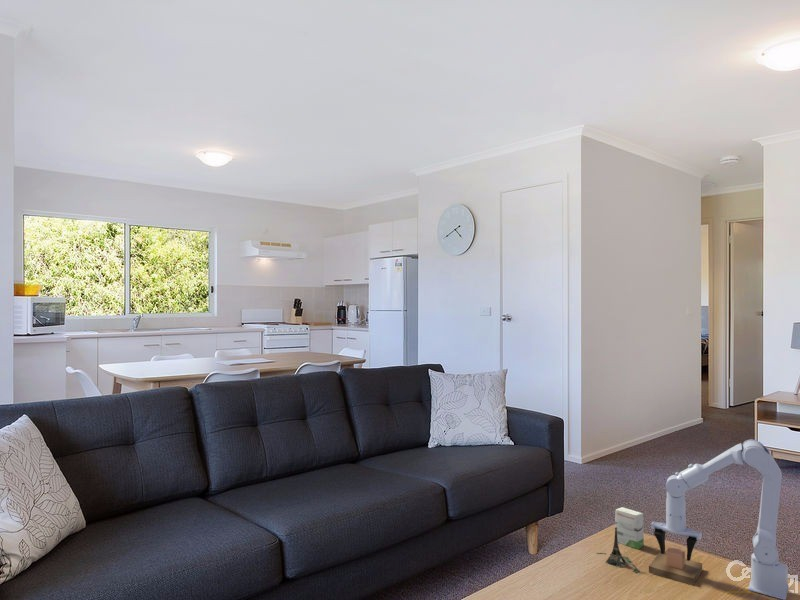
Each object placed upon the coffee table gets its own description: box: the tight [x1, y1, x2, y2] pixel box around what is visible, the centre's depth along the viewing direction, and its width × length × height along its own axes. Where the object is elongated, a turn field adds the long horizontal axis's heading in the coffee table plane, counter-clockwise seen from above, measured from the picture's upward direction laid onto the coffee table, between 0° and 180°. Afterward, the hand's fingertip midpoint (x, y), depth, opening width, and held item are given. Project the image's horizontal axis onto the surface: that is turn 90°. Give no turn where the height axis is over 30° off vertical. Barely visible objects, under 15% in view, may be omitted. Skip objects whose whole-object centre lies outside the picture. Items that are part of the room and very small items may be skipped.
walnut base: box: [648, 551, 703, 586], centre depth 185 cm, size 13×13×2 cm
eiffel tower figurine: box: [596, 527, 642, 575], centre depth 190 cm, size 15×10×13 cm
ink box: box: [614, 506, 645, 550], centre depth 206 cm, size 9×5×12 cm, turn 39°
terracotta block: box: [665, 546, 686, 569], centre depth 185 cm, size 5×5×4 cm
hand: (675, 556), depth 185 cm, fingers open, 7 cm apart
